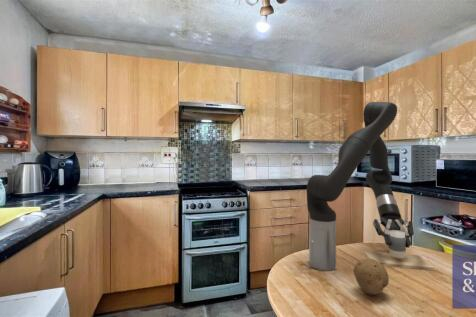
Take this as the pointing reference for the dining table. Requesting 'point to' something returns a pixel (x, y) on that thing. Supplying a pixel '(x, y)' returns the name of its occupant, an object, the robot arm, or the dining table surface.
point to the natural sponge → (371, 276)
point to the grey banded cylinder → (397, 244)
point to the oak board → (400, 260)
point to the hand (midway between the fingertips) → (398, 245)
